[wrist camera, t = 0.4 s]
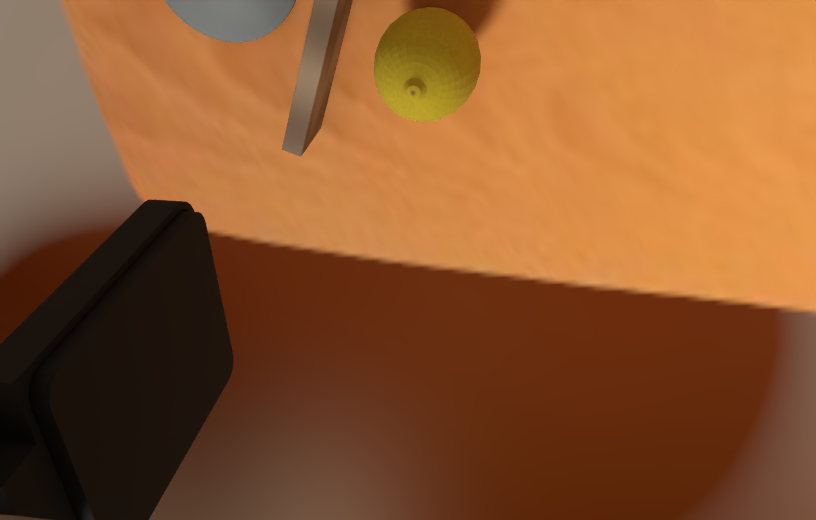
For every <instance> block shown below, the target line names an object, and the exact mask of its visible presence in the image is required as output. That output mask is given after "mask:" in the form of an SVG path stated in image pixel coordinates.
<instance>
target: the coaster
mask: <svg viewBox="0 0 816 520" xmlns="http://www.w3.org/2000/svg"><path fill="white" fill-rule="evenodd" d="M165 1H166V3H167V4H168V5H169V7H170V8H171V9H172V10H173V11H174V12H175V14H176V15H177V16H178V17H180V18H181V19H182V20H183V21H184V22H185V23H186V24H188V25H189V26H190V27H192V28H193V29H195V30H197V31H198V32H200V33H202V34H204V35H206V36H209V37H211V38H214V39H217V40H221V41H227V42H246V41H251V40H255V39H258V38H260V37H263V36H265V35H267V34H268V33H270V32H271V31H273V30H274V29H275V28H276V27H277V26H279V25H280V24H281V23H282V22H283V21H284V19H285V18H286V17H287V16H288V14H289V13H290V11H291V10H292V8H293V6H294V4H295V1H296V0H165Z"/></svg>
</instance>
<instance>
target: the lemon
mask: <svg viewBox="0 0 816 520" xmlns="http://www.w3.org/2000/svg"><path fill="white" fill-rule="evenodd" d="M480 62H481V55H480V50H479V45H478V41H477V39H476V37H475V35H474V33H473V31H472V29H471V28H470V27H469V26H468V25H467V23H466V22H465V21H464V20H463V19H462V18H460V17H459V16H457V15H456V14H455V13H453V12H450V11H448V10H445V9H442V8H435V7H425V8H418V9H414V10H412V11H410V12H408V13H405V14H403V15H402V16H401V17H399V18H398V19H397V20H396V21H394V22H393V23H392V24H391V25H390V26H389V27H388V29H387V30H386V32H385V33H384V34H383V36H382V37H381V39H380V42H379V45H378V48H377V50H376V53H375V62H374V75H375V81H376V86H377V88H378V91H379V93H380V95H381V97H382V99H383V100H384V101H385V103H386V104H387V105H388V107H390V108H391V109H392V110H393V111H394V112H395V113H397V114H398V115H400V116H402V117H404V118H406V119H410V120H413V121H418V122H430V121H434V120H439V119H442V118H444V117H446V116H448V115H450V114H452V113H453V112H455V111H456V110H457V109H458V108H459V107H460V106H462V105H463V104H464V103H465V102H466V101H467V99H468V98H469V96H470V95H471V93H472V91H473V90H474V88H475V86H476V83H477V80H478V77H479V73H480Z"/></svg>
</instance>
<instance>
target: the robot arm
mask: <svg viewBox="0 0 816 520" xmlns="http://www.w3.org/2000/svg"><path fill="white" fill-rule="evenodd" d="M232 368H233V352H232V347H231V342H230V338H229V333H228V328H227V323H226V318H225V314H224V309H223V305H222V299H221V295H220V289H219V285H218V280H217V275H216V270H215V266H214V261H213V256H212V251H211V246H210V242H209V237H208V232H207V227H206V222H205V219H204V217H203V215H202V214H201V213H199V212H194V209H193V208H192V206H191V205H190V204H189V203H188V202H182V201H166V200H147V201H146V202H144V203H143V204H142V205H141V206H140V207H139V208H138V209H137V210H136V211H135V212H134V213H133V214H132V215H131V216H130V217H129V218H128V219H127V220H126V221H125V222H124V223H123V224H122V225H121V226H120V227H119V228H118V229H117V230H116V231H115V232H114V233H113V234H112V235H111V236H110V237H109V238H108V239H107V240H106V241H104V242H103V243H102V244H101V245H100V246H99V248H97V249H96V250H95V251H94V253H92V254H91V255H90V256H89V257H88V259H86V260H85V261H84V262H83V263H82V264H81V265H80V267H78V268H77V269H76V270H75V271H74V272H73V273H72V274H71V275H70V276H69V277H68V278H67V279H66V280H65V281H64V282H63V283H62V284H61V285H60V286H59V287H58V288H57V289H56V290H55V291H54V292H53V293H52V294H51V295H50V296H49V297H48V298H47V299H46V300H45V301H44V302H43V303H42V304H41V305H40V306H39V307H38V308H37V309H36V310H35V311H34V312H33V313H32V314H31V315H30V316H29V317H27V319H26V320H25V321H23V322H22V324H20V325H19V326H18V328H17V329H15V330H14V331H13V332H12V333H11V334H10V335H9V336H8V337H7V338H6V339H5V340H4V341H3V342H2V343H1V344H0V520H149V518H150V516H151V515H152V513H153V511H154V509H155V507H156V506H157V504H158V502H159V501H160V499H161V497H162V495H163V494H164V492H165V490H166V488H167V487H168V485H169V483H170V481H171V480H172V478H173V476H174V475H175V473H176V471H177V469H178V468H179V466H180V464H181V462H182V460H183V459H184V457H185V455H186V454H187V452H188V450H189V448H190V447H191V445H192V443H193V441H194V440H195V438H196V436H197V434H198V433H199V431H200V429H201V427H202V426H203V424H204V422H205V421H206V419H207V417H208V415H209V414H210V412H211V410H212V408H213V407H214V405H215V403H216V401H217V400H218V398H219V396H220V394H221V393H222V391H223V389H224V387H225V386H226V384H227V382H228V380H229V378H230V376H231V373H232Z"/></svg>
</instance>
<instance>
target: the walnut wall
mask: <svg viewBox="0 0 816 520" xmlns="http://www.w3.org/2000/svg"><path fill="white" fill-rule="evenodd" d="M351 4H352V0H314V4H313V8H312V13H311V18H310V22H309V27H308V31H307V36H306V41H305V45H304V50H303V54H302V59H301V64H300V68H299V73H298V77H297V82H296V87H295V91H294V96H293V100H292V105H291V110H290V114H289V119H288V124H287V128H286V133H285V137H284V142H283V147H282V150H285V151H287V152H290V153H293V154H295V155H298V156H302V154H303V153H304V152H305V150H306V149H307V147H308V146H309V144H310V143H311V141H312V140H313V139H314V137H315V136H316V134H317V133H318V131H319V130H320V129H321V125H322V121H323V117H324V113H325V109H326V105H327V101H328V97H329V93H330V89H331V85H332V81H333V77H334V73H335V69H336V65H337V61H338V57H339V52H340V48H341V44H342V40H343V36H344V32H345V28H346V24H347V20H348V16H349V12H350V8H351Z"/></svg>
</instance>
